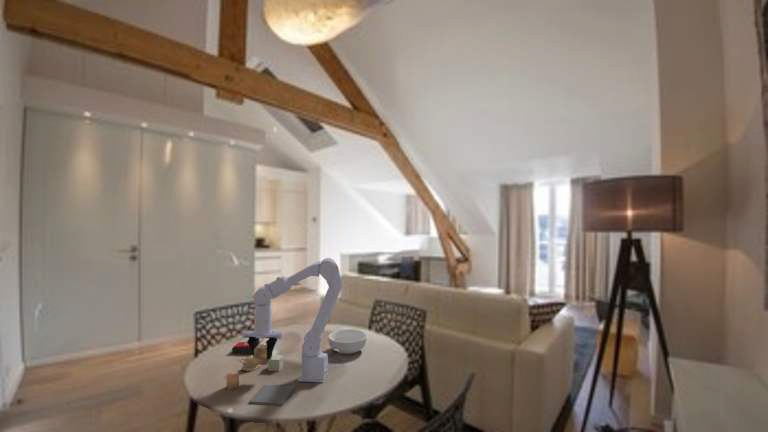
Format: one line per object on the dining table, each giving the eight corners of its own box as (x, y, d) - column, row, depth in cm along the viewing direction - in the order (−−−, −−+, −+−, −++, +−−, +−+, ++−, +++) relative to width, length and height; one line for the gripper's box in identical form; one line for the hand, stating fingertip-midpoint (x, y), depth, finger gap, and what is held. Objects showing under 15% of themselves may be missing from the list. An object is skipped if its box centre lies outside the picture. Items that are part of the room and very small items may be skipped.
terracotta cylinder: (241, 384, 121) (241, 372, 121) (235, 390, 117) (235, 377, 117) (230, 384, 122) (230, 371, 122) (224, 389, 118) (224, 376, 118)
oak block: (271, 359, 127) (271, 344, 127) (266, 364, 123) (266, 349, 123) (259, 359, 127) (259, 344, 127) (253, 364, 123) (254, 348, 123)
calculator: (242, 337, 160) (274, 336, 159) (242, 347, 159) (274, 345, 159) (231, 346, 149) (266, 345, 148) (231, 356, 148) (266, 355, 148)
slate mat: (294, 388, 119) (294, 386, 119) (282, 405, 108) (282, 403, 108) (263, 386, 120) (263, 384, 120) (248, 403, 109) (248, 401, 109)
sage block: (283, 366, 137) (283, 355, 137) (279, 371, 132) (279, 359, 132) (272, 366, 137) (272, 355, 137) (268, 370, 133) (268, 359, 133)
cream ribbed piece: (261, 368, 135) (262, 354, 135) (239, 374, 130) (239, 359, 130) (258, 364, 138) (258, 351, 138) (236, 370, 133) (236, 356, 133)
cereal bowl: (320, 352, 151) (320, 336, 151) (345, 341, 165) (345, 326, 165) (349, 362, 141) (350, 344, 141) (373, 349, 155) (374, 333, 155)
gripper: (238, 323, 122) (238, 361, 122) (278, 324, 120) (277, 363, 120) (247, 317, 129) (247, 353, 129) (285, 318, 127) (285, 355, 127)
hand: (262, 358), depth 125 cm, fingers closed on oak block, 4 cm apart
